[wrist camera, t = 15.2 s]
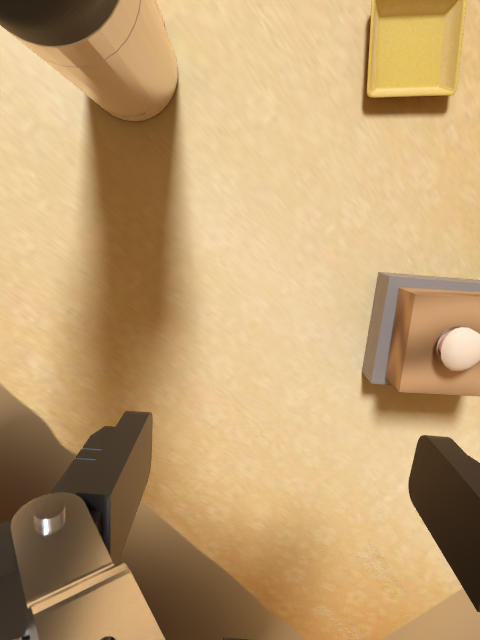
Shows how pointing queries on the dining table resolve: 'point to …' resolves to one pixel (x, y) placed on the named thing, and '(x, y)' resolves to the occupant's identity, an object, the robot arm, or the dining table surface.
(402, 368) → the tower top block
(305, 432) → the dining table surface
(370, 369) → the tower base block
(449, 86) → the yellow shallow square tray
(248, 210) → the dining table surface
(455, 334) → the pistachio nut
